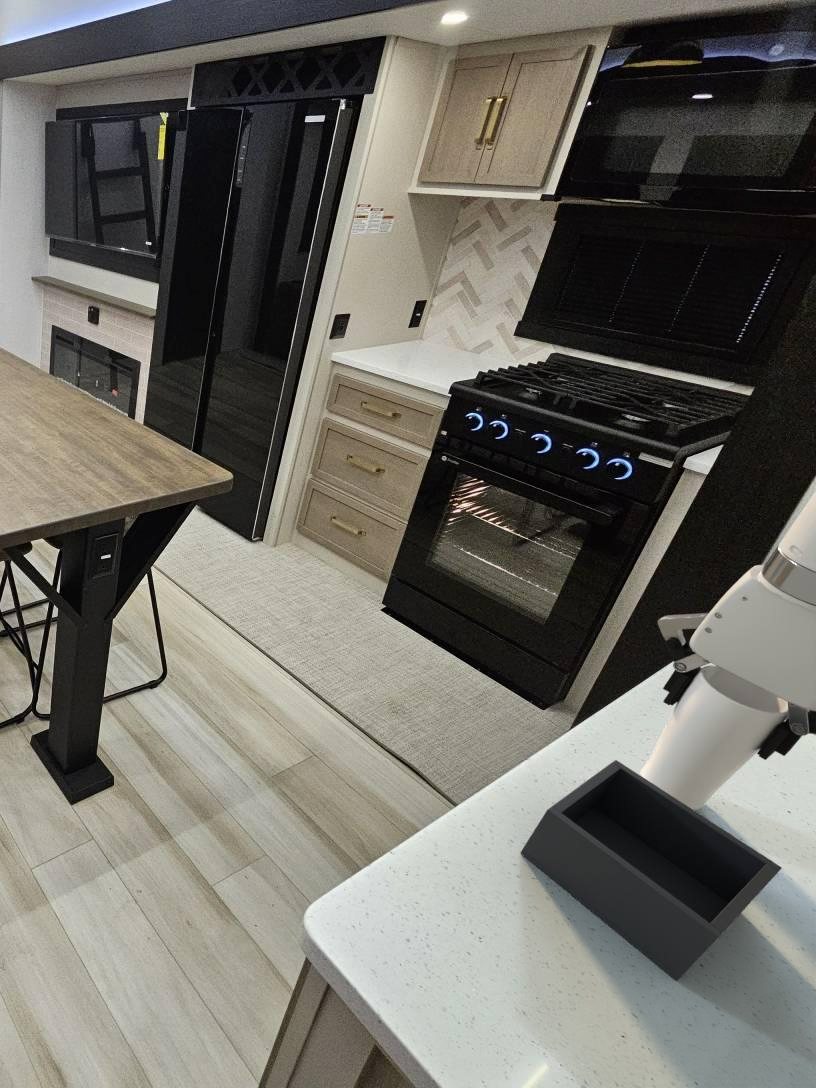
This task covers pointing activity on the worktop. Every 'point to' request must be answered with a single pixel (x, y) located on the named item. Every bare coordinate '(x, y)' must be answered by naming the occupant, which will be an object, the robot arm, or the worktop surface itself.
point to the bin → (648, 865)
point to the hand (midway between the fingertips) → (718, 724)
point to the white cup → (712, 735)
